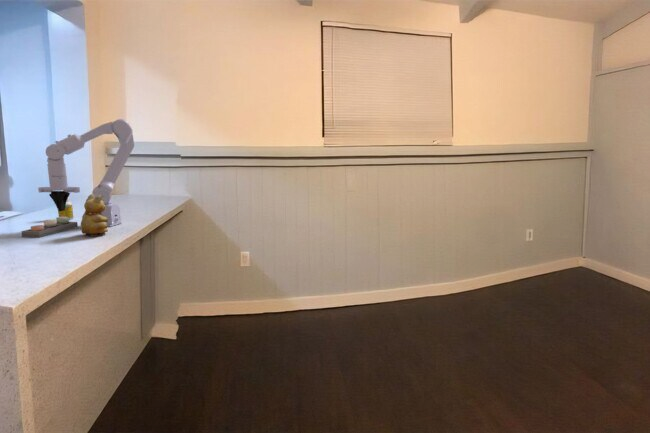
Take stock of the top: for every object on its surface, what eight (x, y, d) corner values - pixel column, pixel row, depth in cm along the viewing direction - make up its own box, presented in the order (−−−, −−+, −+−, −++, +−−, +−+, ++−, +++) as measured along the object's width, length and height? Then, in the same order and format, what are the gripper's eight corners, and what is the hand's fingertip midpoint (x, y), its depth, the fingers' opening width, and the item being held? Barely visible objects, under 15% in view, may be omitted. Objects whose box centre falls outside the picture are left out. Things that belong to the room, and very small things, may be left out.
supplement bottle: (66, 220, 172) (64, 198, 170) (56, 220, 173) (53, 198, 171) (76, 218, 177) (74, 196, 175) (66, 217, 178) (63, 196, 176)
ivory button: (59, 224, 152) (59, 219, 152) (51, 226, 148) (50, 221, 148) (50, 224, 153) (49, 219, 152) (41, 226, 149) (41, 221, 149)
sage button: (71, 221, 158) (70, 216, 158) (63, 223, 154) (63, 218, 154) (62, 221, 159) (61, 216, 158) (54, 223, 155) (53, 218, 154)
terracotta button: (47, 230, 147) (46, 225, 146) (38, 233, 143) (37, 227, 142) (37, 230, 147) (36, 225, 147) (28, 232, 143) (27, 227, 143)
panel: (77, 226, 160) (77, 221, 159) (39, 237, 142) (38, 232, 141) (62, 226, 161) (61, 221, 160) (22, 236, 142) (21, 231, 142)
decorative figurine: (113, 234, 147) (109, 194, 145) (92, 239, 140) (88, 196, 137) (95, 231, 151) (92, 192, 149) (74, 236, 144) (70, 195, 141)
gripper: (82, 175, 157) (86, 209, 160) (45, 175, 157) (49, 208, 159) (72, 176, 150) (75, 212, 153) (33, 176, 150) (37, 211, 152)
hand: (61, 210), depth 156 cm, fingers closed
